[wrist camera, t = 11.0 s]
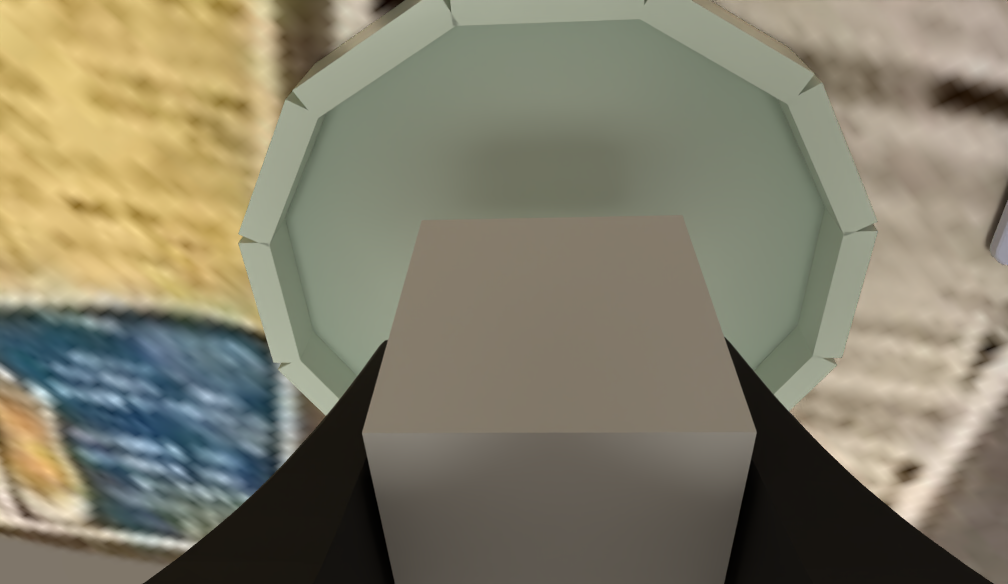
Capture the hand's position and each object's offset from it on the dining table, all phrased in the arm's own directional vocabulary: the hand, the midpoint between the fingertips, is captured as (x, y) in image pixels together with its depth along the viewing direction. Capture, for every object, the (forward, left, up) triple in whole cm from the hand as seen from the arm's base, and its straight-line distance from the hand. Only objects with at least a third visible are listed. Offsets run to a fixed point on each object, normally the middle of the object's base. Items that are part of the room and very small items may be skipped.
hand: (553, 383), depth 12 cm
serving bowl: (0, +3, -8) cm, 9 cm away
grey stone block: (0, 0, -2) cm, 2 cm away
